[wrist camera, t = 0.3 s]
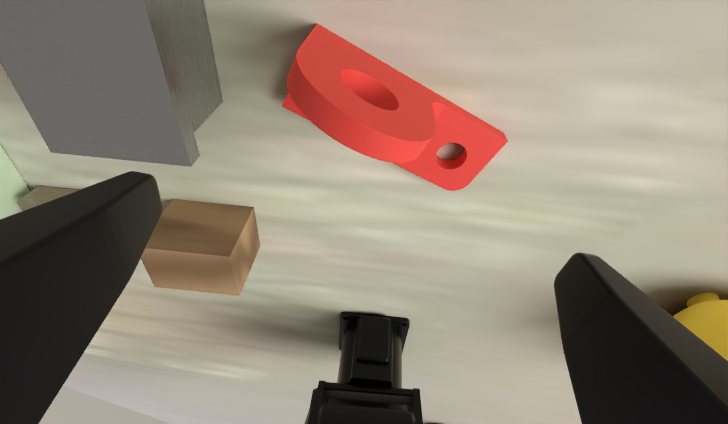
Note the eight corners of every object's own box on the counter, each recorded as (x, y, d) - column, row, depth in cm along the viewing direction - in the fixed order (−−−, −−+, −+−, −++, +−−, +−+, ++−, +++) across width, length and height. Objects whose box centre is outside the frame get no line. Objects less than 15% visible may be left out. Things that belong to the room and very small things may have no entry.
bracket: (286, 98, 21) (241, 174, 15) (317, 22, 18) (276, 78, 12) (455, 185, 24) (474, 278, 18) (503, 131, 21) (544, 219, 15)
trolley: (231, 125, 22) (193, 174, 18) (108, 113, 22) (42, 159, 18) (188, -116, 15) (108, -124, 11) (7, -132, 15) (-139, -147, 11)
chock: (260, 244, 29) (239, 295, 25) (186, 237, 29) (154, 286, 25) (254, 206, 27) (229, 256, 23) (173, 198, 27) (135, 246, 23)
